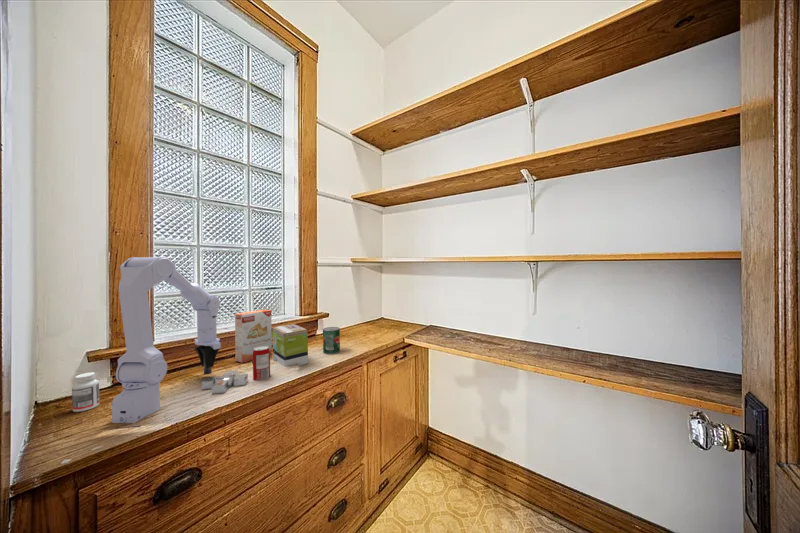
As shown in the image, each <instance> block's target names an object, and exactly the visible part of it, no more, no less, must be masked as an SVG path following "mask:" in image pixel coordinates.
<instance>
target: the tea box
mask: <svg viewBox="0 0 800 533" xmlns="http://www.w3.org/2000/svg"><path fill="white" fill-rule="evenodd" d="M271 334H272V358H273V359H272V360H273V361H274V362H278V363H280V364H281V365H283V367H287V366H292V365H296V364H297V367H301V366H304V365H307V364H309V344H308V343H309V342H308V337H309V336H308V329H306V328H305V327H302V326H300V325H298V324H295V323H291V324H287V325H286V324H285V325H280V326H276V327H272V326H271Z"/></svg>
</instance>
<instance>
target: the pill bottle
mask: <svg viewBox="0 0 800 533" xmlns="http://www.w3.org/2000/svg"><path fill="white" fill-rule="evenodd" d="M96 378H97V377H96V372H95V371H94V372H93V371H92V372H85V373H81V374H79V375H75V376H74V381H75V383H74V384H73V385H72V386H71V398H72V399H71V401H72V402H71V403H72V404H71V405H72V406H71V407H72V412H74V413H75V412H76V413H79V412H80V413H81V412H85V411H89V410H92V409H94V408H96V407H98V406H99V405H100V401H101V400H100V380H98V379H96Z"/></svg>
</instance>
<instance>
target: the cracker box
mask: <svg viewBox="0 0 800 533" xmlns="http://www.w3.org/2000/svg"><path fill="white" fill-rule="evenodd" d="M234 326H235V327H234V334H235V336H234V337H235V339H234V341H235V342H234V343H235V345H234V346H235V347H234V350H235V354H234V356H235V357H234V358H235V362H239V363H241V364H243V363H246V362H250V361H253V350H254V348H256V347H260V346H268V347H269V350H270V356H271V355H273V336H272V310H271V309H260V310H251V311H250V310H249V311H244V312H238V313H237V312H236V313H235V314H234Z"/></svg>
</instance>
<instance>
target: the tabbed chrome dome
mask: <svg viewBox="0 0 800 533" xmlns="http://www.w3.org/2000/svg"><path fill="white" fill-rule="evenodd" d="M238 371H239V370H229V371H225V372H224V373H223V374H222V375H220V376H219V375H218V376H210V377H206V378H204V379H203V380H202V381H201V390H202V391H204V390H211V395H213V394H214V395H216V394H223V393H226V392H227V391H228V389H229V388H231V387H239V386H240V387H241V386H245V385H247V383H248V382H249V375H248V374H249V373H241V374H238V373H239V372H238Z"/></svg>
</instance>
